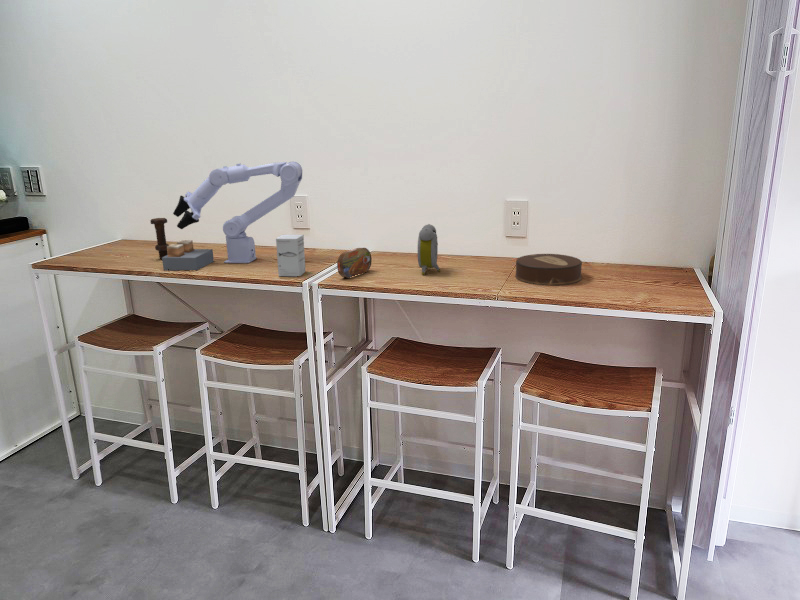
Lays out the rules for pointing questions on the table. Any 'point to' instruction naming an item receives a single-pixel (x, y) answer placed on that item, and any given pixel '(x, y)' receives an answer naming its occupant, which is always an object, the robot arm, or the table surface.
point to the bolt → (160, 236)
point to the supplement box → (290, 255)
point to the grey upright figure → (427, 248)
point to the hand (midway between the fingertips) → (177, 221)
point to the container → (548, 269)
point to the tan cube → (175, 250)
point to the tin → (354, 262)
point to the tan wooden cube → (187, 245)
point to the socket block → (189, 260)
